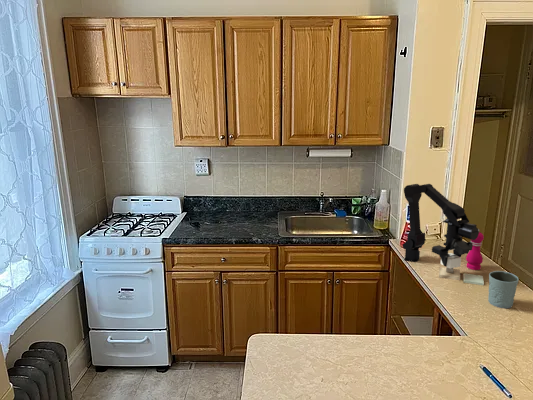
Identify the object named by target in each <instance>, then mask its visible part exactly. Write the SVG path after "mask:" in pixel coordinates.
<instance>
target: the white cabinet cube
mask: <svg viewBox="0 0 533 400" xmlns="http://www.w3.org/2000/svg"><path fill="white" fill-rule="evenodd" d="M448 254H450V256H448V259H447V265H446V267H448V268H450V269H451V268H453V269H455V268H456V269H457V268H460V267H461V263H462V256H461V257H459V256H457V255H455V254H453V252H448ZM440 265H442V266H444V265H443V263H442V260H441V259H440ZM446 267H445V268H446Z"/></svg>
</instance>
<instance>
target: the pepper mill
mask: <svg viewBox="0 0 533 400" xmlns="http://www.w3.org/2000/svg"><path fill="white" fill-rule="evenodd" d="M478 231H479V234H478V237H477V238H476V239H475V240H471V239H470V241H469V242H472V243H473V247H472V250H469V252H468V254H466V257H465V260H466V262H467V263H466V266H465V267H466V268H467V269H468V270H472V271H479V270H481V269H482V264H483V261H484V259H483V254H482V253H481V252H482V251H481V246H482V244H483V241H484V239H485V237H484V234H483V233H482V232H480V228H478Z"/></svg>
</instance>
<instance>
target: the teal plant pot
mask: <svg viewBox="0 0 533 400" xmlns="http://www.w3.org/2000/svg"><path fill="white" fill-rule="evenodd" d="M519 281H520V279H519V277H518V276H517V275H515V274H514V273H511V272H508V271H504V270H503V271H502V270H494V271H491V272H489V274H488V282H489V283H488V284H489V285H488V295H487V296H488V297H487V298H488V303H489V304H490V305H491V306H494V307H496V308H499V309H511V308H512V307H513V305H514V301H515V300H514V299H515V297H516V292H517V286H518V284H519Z"/></svg>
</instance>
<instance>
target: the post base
mask: <svg viewBox="0 0 533 400" xmlns="http://www.w3.org/2000/svg"><path fill="white" fill-rule="evenodd" d="M438 278H440V279H448V280H455V281H461V269H457V268H456V269H455V268H451V269H450V268H448V267H445V266H444V267H443V266H439V268H438Z"/></svg>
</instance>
